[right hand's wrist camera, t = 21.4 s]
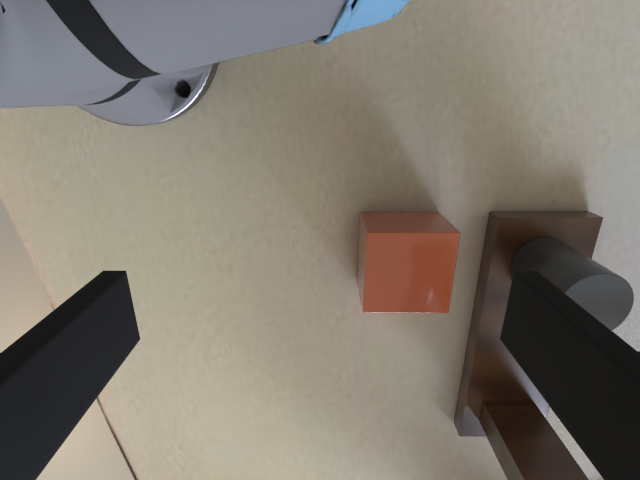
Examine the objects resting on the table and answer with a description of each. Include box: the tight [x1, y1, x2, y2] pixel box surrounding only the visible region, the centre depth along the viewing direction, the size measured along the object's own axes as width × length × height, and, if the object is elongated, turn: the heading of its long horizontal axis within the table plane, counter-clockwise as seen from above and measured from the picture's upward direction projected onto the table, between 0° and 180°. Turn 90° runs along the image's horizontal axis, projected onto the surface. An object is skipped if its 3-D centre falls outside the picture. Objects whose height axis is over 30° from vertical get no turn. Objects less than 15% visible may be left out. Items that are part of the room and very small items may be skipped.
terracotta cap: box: [357, 212, 460, 313], centre depth 36 cm, size 8×8×6 cm
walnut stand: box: [454, 212, 634, 480], centre depth 37 cm, size 28×10×12 cm, turn 0°
